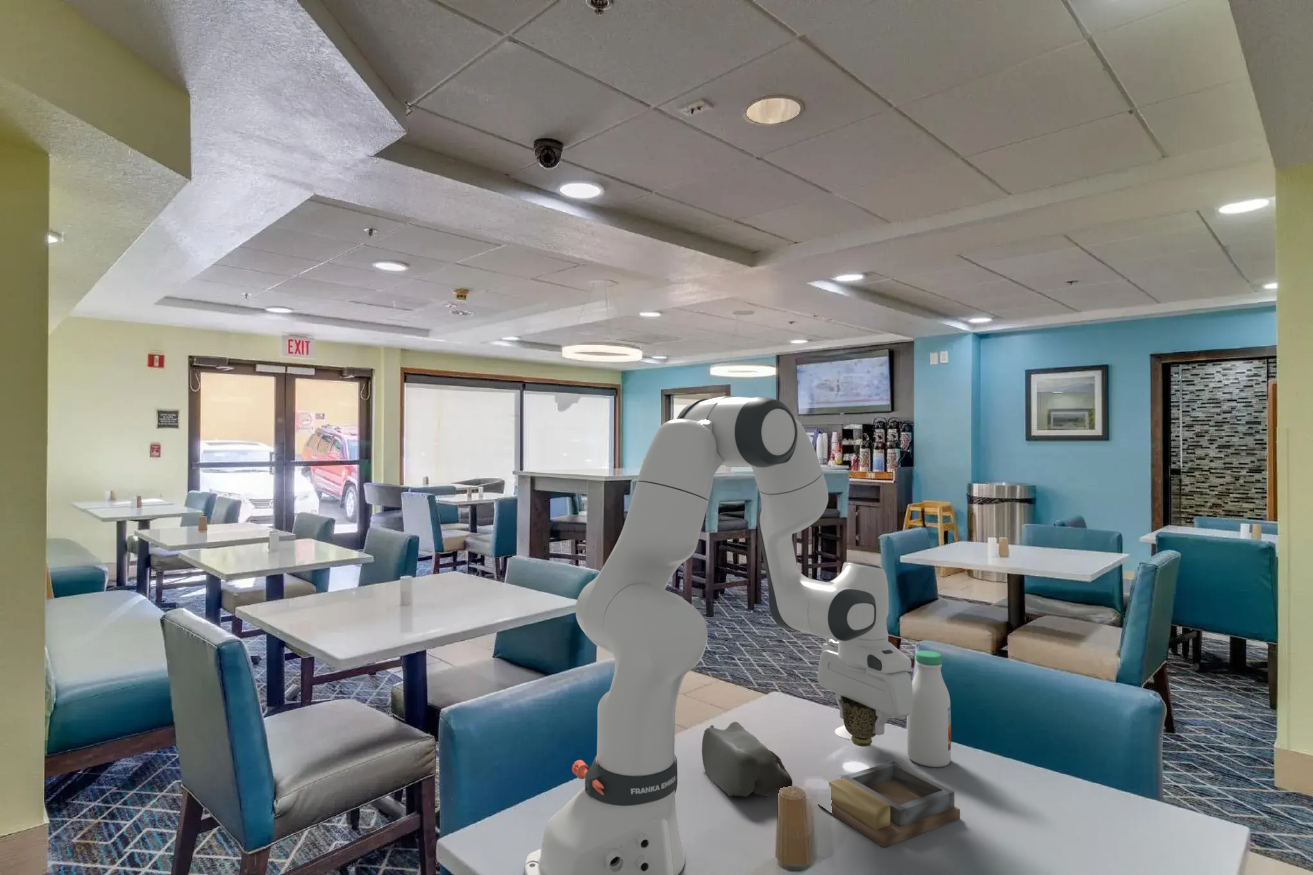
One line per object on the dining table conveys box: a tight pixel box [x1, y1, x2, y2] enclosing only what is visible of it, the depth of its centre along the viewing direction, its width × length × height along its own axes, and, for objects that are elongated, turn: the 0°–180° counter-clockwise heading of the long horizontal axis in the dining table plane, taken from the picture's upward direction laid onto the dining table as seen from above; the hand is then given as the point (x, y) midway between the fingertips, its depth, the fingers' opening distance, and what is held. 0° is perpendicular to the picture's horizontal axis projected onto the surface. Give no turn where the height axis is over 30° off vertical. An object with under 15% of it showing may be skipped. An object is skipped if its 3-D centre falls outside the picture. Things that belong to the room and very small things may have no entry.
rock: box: [701, 721, 793, 798], centre depth 123 cm, size 18×11×8 cm, turn 21°
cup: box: [841, 697, 878, 748], centre depth 128 cm, size 8×7×8 cm
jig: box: [828, 760, 961, 849], centre depth 113 cm, size 17×14×4 cm
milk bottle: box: [906, 650, 952, 768], centre depth 133 cm, size 8×8×20 cm
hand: (861, 725), depth 128 cm, fingers closed on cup, 6 cm apart
